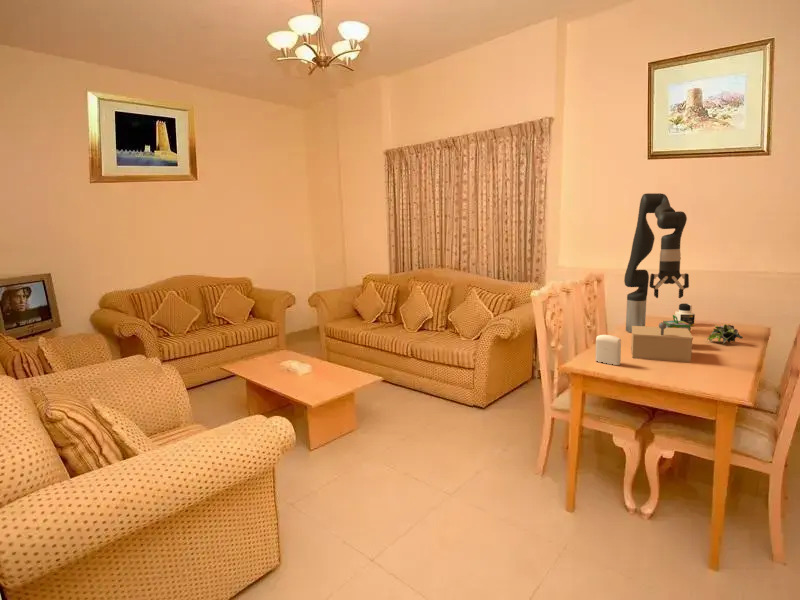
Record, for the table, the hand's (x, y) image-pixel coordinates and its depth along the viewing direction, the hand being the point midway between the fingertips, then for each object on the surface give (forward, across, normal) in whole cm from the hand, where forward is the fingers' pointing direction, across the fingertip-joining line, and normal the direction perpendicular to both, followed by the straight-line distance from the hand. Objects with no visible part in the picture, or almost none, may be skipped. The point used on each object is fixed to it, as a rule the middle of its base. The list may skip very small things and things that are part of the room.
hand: (668, 297), depth 193 cm
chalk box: (+27, -7, -23) cm, 36 cm away
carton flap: (+17, +1, -6) cm, 18 cm away
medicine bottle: (+25, -18, -68) cm, 75 cm away
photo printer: (+28, +23, +10) cm, 38 cm away
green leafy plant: (+26, -29, -32) cm, 51 cm away
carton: (+27, +2, -7) cm, 28 cm away
